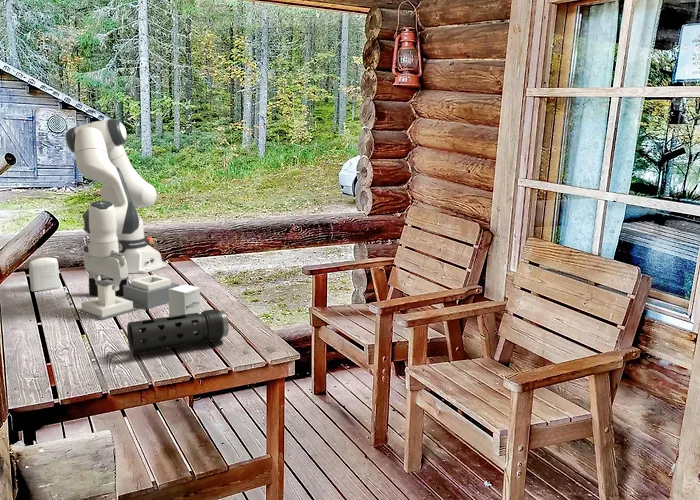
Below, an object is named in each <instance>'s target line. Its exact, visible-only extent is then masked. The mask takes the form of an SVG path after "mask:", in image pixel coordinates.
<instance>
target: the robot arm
mask: <svg viewBox="0 0 700 500" xmlns="http://www.w3.org/2000/svg"><path fill="white" fill-rule="evenodd" d="M127 136H128V135H127V129H126V127H125V125H124V124H123V122H122V121H121V120H119V119H117V118H109V119H106V120H105V119H103V120H97V121H91V122H90V123H86V124H82V125H79V126H73V127H72V128H71V127H70V128H69V129H68V130H67V131H66V134H65V141H66V145H67V147H68V149H69V151H70V152H72V153H73V154H74V159H75V164H76V167H77V170H78V171H79V173H80V175H82V176H84V177H85V178H86V179H89V180H91V181H93V182H97V183H101V184H102V185H101V187H100V196H101V197H100V198H101V199H102V200H96V201H93V202H91V203H90V204H89V206H88V207H89V208H88V209H86V211H84V213H83V214H82V218H83V229H82V230H83V231H85V232H86V233H87V234H88V235H90V238H89V239H90V240H89V242H90V243H88V244H85V245H82V247H81V248H82V252H83V266H84V269H85V270H86V272H88V273H89V272H92V273H93V277H94V279H95V281H96V285H97V282H98V281H102V280H101V278H100V275H102V276H106V277H109V278H112V279H113V281H114V285H112V290H114V291H117V290H119V284H120V282H121V280H124V279H127V278H129V274H138V273H139V274H147V273H150V272H153V271H156V270H160V269H162V268H164V267H165V268H166V267H168V263H167V262H165V261H163V258H162V255H161V253H160V252H159V251H158V250H156V249H155V247H152V246H150V245H149V243H153V238H152V237H145V226H144V219H143V218H142V217H141V216H140V215H139V214H138V212H137V208H138V209H139V208H140V209H142V208H149V207H152V206H153V205H154V204H155V202H156V201H157V197H158V196H157V195H158V193H157V190H156V188H155V186H154V185H152V184H150V183H149V182H147V181H146V180H145V179H144V178H143V177H142V176H141V175H140V174H139V173H138V172H137V170H135V168H134V167H133V165H132V163H131V161H130V159H129V157H128V154H127V152H126V150H125V147H124V144H125V143H126V142H127Z"/></svg>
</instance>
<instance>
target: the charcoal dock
mask: <svg viewBox="0 0 700 500" xmlns="http://www.w3.org/2000/svg"><path fill="white" fill-rule="evenodd" d="M178 286H180V284H179V283H176V282H172V279H171V278H168V277H163V276H160V275H157V274H150V275H146V276H142V277H137V278H134V279H130V283H129V284H127V285H123V293H124V296H123V299H126V300H129V301H132V302H133V306H134V305H135V306H138V307H141V308H144V309H147V310H149V309H148V308H150V309H153V308H155V307H159V306H163V305H167V304H169V289H171V288H174V287H178Z"/></svg>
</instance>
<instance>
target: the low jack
mask: <svg viewBox="0 0 700 500" xmlns="http://www.w3.org/2000/svg"><path fill="white" fill-rule="evenodd" d="M115 299H116V304H113V305H109V306H105V307H103V306H101V305H99V302H98V298H95V299H90V300H88V301H83V302H81V304H80V305H81V308H80V309H77V312H78V311H80V312H83V313H85V314H84V315H86V314H88V315H90V316H89V317H91V316H92V318H94V317H95V318H94V319H96V320H100V321H104V320H108V319H111V318H114V317H117V316H118V317H119V316H120V315H121V316H122V315H124V314H129V313H130V312H135V311H138V308H137V307H134V304H133V302H132V301H129V300H126V299H124V297H123V298H122V297H121V296H115ZM80 312H79V313H80ZM83 313H82V314H83ZM88 315H87V316H88Z"/></svg>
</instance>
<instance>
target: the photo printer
mask: <svg viewBox="0 0 700 500" xmlns="http://www.w3.org/2000/svg"><path fill="white" fill-rule="evenodd" d="M28 266H29V267H28V268H29V269H28V271H29V282H30V291H31V292H39V291H46V290H53V289H60V273H59V262H58V259H57V258H54V257H39V258H36V259H33V260H31V261H29V263H28Z"/></svg>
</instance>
